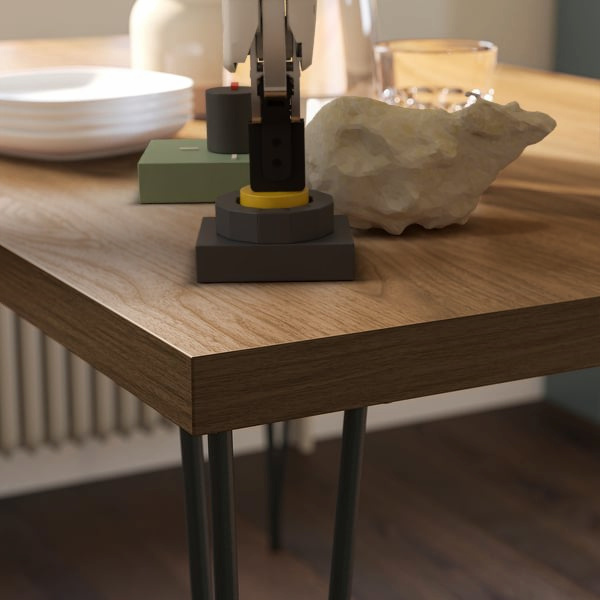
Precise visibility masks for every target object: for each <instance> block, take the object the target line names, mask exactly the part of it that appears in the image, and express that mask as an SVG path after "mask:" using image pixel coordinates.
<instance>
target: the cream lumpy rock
mask: <svg viewBox="0 0 600 600" xmlns="http://www.w3.org/2000/svg"><path fill="white" fill-rule="evenodd" d="M471 96H473V97H475V99H476V101H475V102H473V103H471V104H469V105H468V106H466V107H463V108H461V109H458V110H456V111H453V112H452V111H451V112H448V111H447V110H446V109H444V108H434V109H433V108H431V109H430V108H429V109H428V108H422V109H419V108H410V107H403V106H400V105H396V104H390V103H389V104H388V103H387V102H384V101H382V100H378V99H375V98H371V97H368V96H357V95H348V96H338V97H336V98H334V99H332V100H331V101H329V102H327V103H325V104H323V106H321V108H320V109H319V110H318V111H317V112H316V113H315V114H314V116H313V117H312V119H311V120H310V121H309V122H308V123H307V124H306V126H305V186H306V187H307V188H308V189H312V190H317V191H320V192H323V193H326V194H329V195H331V196H332V197H333V202H334V215H347V216H348V220H349V224H350V228H355V229H358V230H367V229H371V228H377V229H381V230H384V231H386V232H387V233H388V234H390V235H397V236H400V235H401V234H402V233H403V231H404V230H405V229H406V228H407V227H408V226H410V225H413V224H417V225H419V226H422V227H423V228H424V229H427V230H432V229H440V230H442V229H443V228H445V227H447V226H450V225H452V224H457V225H460V226H463V225H465V224H466V223H467V222H468V220H469V218H470V216H471V214H472V213H474V212H475V210H476V209H477V208H478V205H479V202H480V198H481V196H482V194H483V193H485V191H486V190H487V189H488V188H489V187H490V186H491V185H492V184H493V183H494V182H495V181H496V179H497V177H498V175H499V173H500V172H501V171H504V170H505V169H506V168H507V167H508V166H509V165H510V164H512V163H513V162H515V161H516V160H518V159H519V157H520V156H521V155H522V154H523V152H524V151H525V150H526V148H527V147H530V146H532V145H536V144H538V143H540V142H542V141H543V140H544V139H545V138H546V137H547V136H548V135H550V134H551V133H552V132H553V131H554V130H555V129H556V128H557V125H558V124H557V120H556V119H554V118H553V117H552V116H550V114H548V113H545V112H542V111H539V110H536V111H529V110H525V109H523V108H521V106H520V103H519V102H518V101H516V100H513V101H510V102H507V103H506V104H505V105H503V104H500V103H498V102H494V101H490V100H488V99H484V98H482V97H481V94H479V93H475V92H472V91H465V93H464V97H466V98H470V97H471Z"/></svg>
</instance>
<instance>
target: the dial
mask: <svg viewBox="0 0 600 600" xmlns="http://www.w3.org/2000/svg"><path fill="white" fill-rule="evenodd" d="M239 84H240V83H239V82H238V81H231V82H230V85H229V86H217V87H216V86H215V87H209V88H207V89H205V91H204V92H205V93H204V96H205V98H204V99H205V125H206V128H205V129H206V139H207V149H208V150H209V151H211V152H215V153H223V154H244V153H249V132H248V122H249V119H252V102H251V85H249V86H247V85H239ZM261 119H262V118H261Z"/></svg>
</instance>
